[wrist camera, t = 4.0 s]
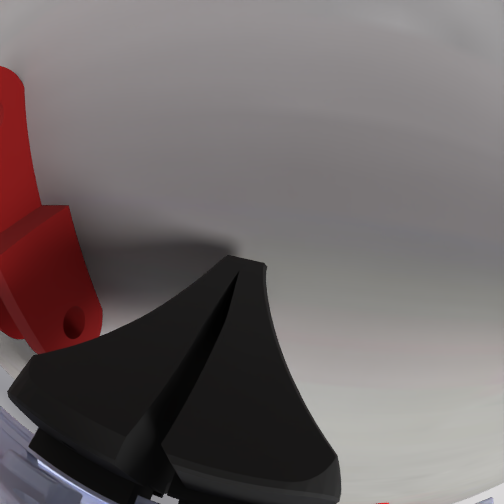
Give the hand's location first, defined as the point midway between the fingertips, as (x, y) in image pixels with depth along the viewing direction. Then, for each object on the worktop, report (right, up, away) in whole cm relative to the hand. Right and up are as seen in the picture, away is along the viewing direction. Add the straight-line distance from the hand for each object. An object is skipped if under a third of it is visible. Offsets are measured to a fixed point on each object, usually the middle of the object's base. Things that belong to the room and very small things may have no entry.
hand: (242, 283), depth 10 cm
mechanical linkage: (-12, +4, +3) cm, 13 cm away
